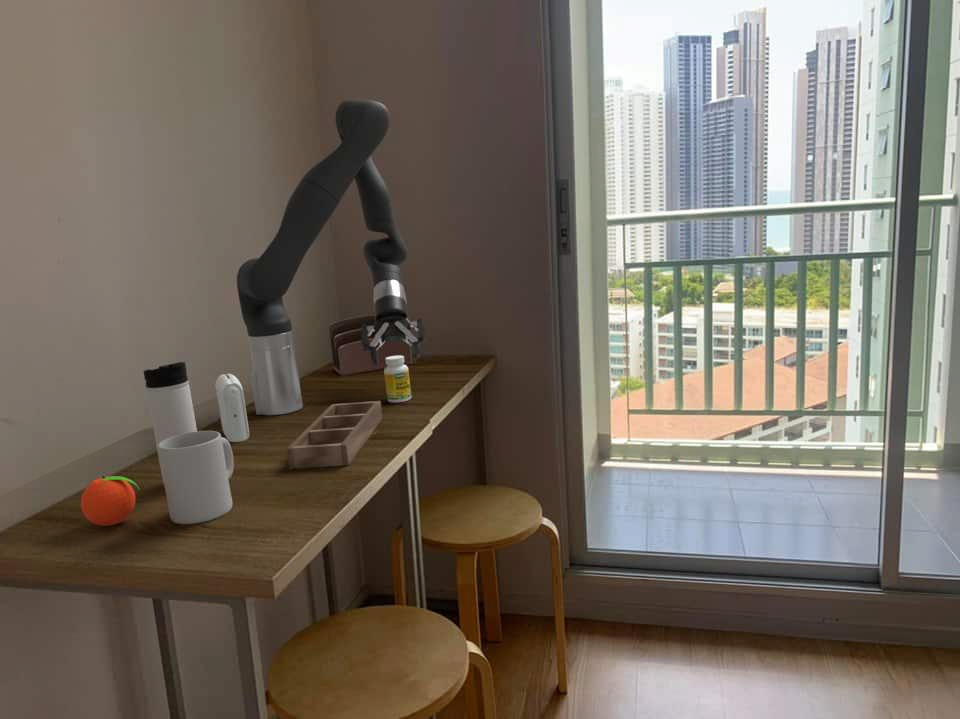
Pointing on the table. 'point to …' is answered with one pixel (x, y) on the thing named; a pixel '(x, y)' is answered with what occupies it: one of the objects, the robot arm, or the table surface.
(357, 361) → the letter holder
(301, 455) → the compartment tray
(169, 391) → the travel mug
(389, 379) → the supplement bottle
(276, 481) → the table surface
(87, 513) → the clementine
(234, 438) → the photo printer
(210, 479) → the mug
